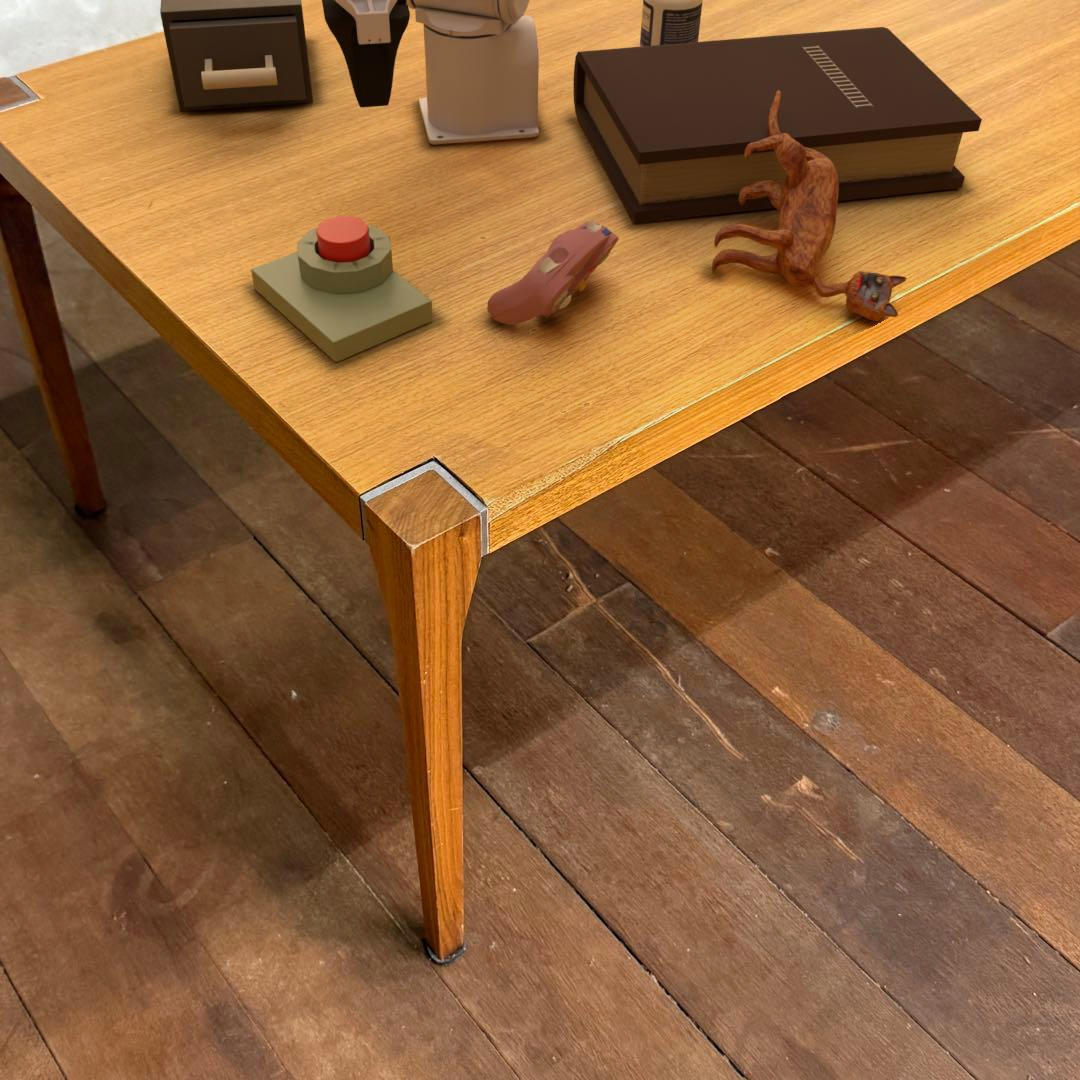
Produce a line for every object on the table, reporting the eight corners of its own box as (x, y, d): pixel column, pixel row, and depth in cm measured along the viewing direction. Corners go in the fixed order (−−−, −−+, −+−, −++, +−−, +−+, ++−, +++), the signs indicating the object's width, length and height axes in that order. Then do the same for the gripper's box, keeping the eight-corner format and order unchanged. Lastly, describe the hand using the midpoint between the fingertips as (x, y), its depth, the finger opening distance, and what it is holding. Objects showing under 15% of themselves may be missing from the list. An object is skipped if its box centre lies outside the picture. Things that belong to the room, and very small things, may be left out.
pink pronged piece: (526, 356, 85) (567, 295, 79) (477, 313, 85) (515, 249, 79) (596, 290, 91) (640, 229, 85) (551, 249, 91) (591, 185, 85)
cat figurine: (767, 56, 90) (953, 91, 88) (759, 117, 96) (932, 151, 94) (707, 256, 84) (904, 299, 82) (702, 307, 90) (885, 348, 88)
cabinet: (313, 102, 108) (301, 4, 102) (179, 111, 106) (159, 12, 100) (305, 43, 116) (294, -51, 110) (182, 50, 115) (163, -45, 109)
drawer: (308, 121, 103) (299, 42, 99) (184, 130, 102) (168, 50, 97) (299, 44, 114) (290, -31, 109) (186, 50, 113) (172, -25, 108)
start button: (309, 248, 86) (306, 226, 84) (352, 231, 87) (350, 209, 86) (336, 270, 84) (334, 248, 82) (380, 253, 85) (378, 231, 84)
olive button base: (254, 289, 87) (246, 246, 85) (356, 249, 91) (352, 207, 89) (335, 363, 81) (330, 319, 79) (441, 317, 85) (439, 274, 83)
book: (864, 83, 112) (878, 18, 108) (961, 187, 99) (981, 119, 95) (572, 109, 107) (575, 43, 103) (633, 223, 94) (639, 152, 90)
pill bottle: (705, 64, 115) (718, -43, 108) (678, 85, 112) (690, -24, 105) (655, 50, 117) (664, -56, 110) (627, 70, 114) (635, -38, 107)
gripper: (286, -140, 80) (310, 61, 90) (297, -59, 71) (323, 156, 80) (392, -144, 81) (404, 55, 91) (418, -65, 72) (429, 148, 81)
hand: (373, 102), depth 86 cm, fingers closed
